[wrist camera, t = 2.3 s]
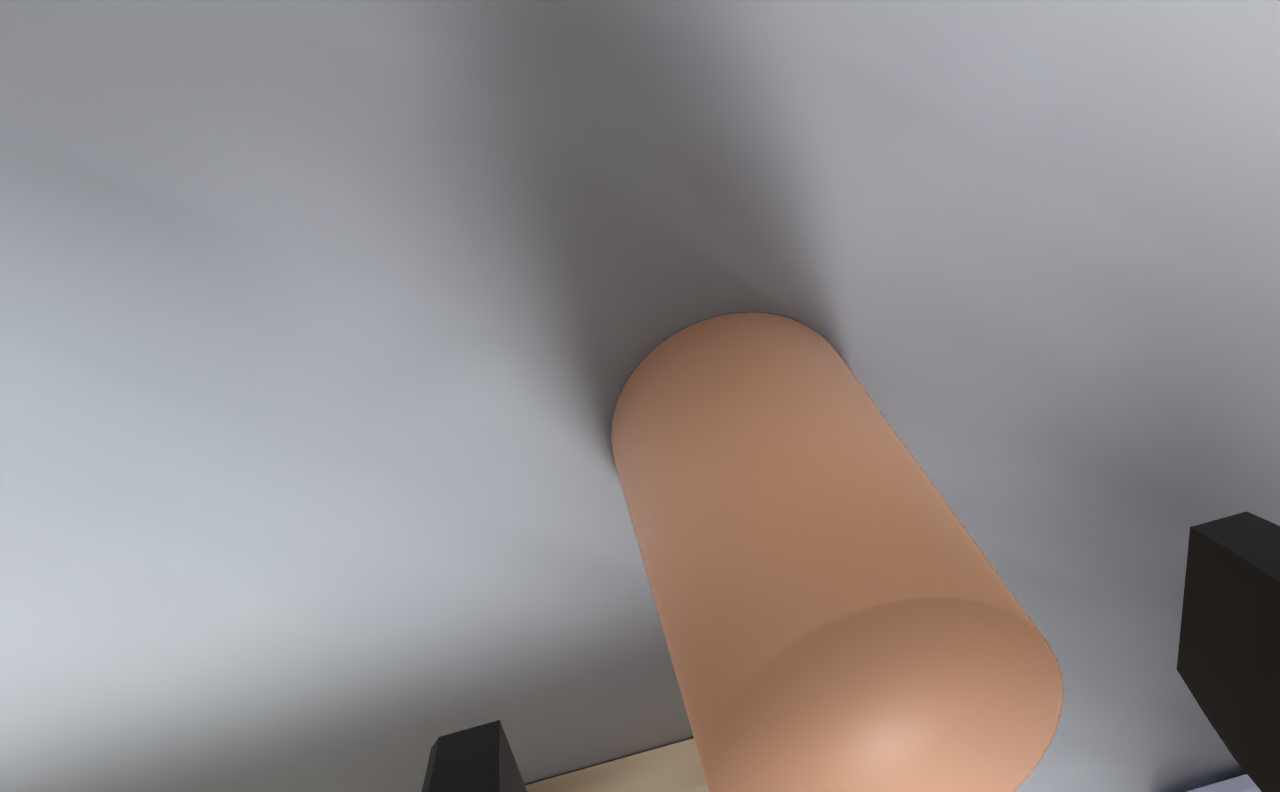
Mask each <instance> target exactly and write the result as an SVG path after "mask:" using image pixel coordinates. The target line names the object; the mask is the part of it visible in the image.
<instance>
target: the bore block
mask: <svg viewBox="0 0 1280 792" xmlns="http://www.w3.org/2000/svg"><path fill="white" fill-rule="evenodd" d="M525 788H526V791H527V792H709V790H708V786H707V783H706V779H705V776H704V772H703V769H702V765H701V762H700V758H699V755H698V751H697V748H696V744H695V741H694V738H692V739H689V740H685V741H682V742H678V743H674V744H671V745H667V746H664V747H660V748H657V749H653V750H649V751H646V752H642V753H639V754H635V755H632V756H628V757H624V758H621V759H617V760H614V761H610V762H607V763H603V764H600V765H596V766H592V767H589V768H585V769H582V770H578V771H575V772H571V773H567V774H564V775H560V776H557V777H553V778H550V779H546V780H542V781H539V782H535V783H532V784H528V785H525Z"/></svg>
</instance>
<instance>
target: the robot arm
mask: <svg viewBox="0 0 1280 792" xmlns="http://www.w3.org/2000/svg"><path fill="white" fill-rule="evenodd" d="M1177 671H1178V672H1179V674H1180V675H1181V677H1182V678H1183V680H1184V682H1185V683H1186V685H1187V686H1188V688H1189V690H1190V691H1191V693H1192V694H1193V696H1194V698H1195V699H1196V701H1197V702H1198V704H1199V706H1200V707H1201V709H1202V710H1203V712H1204V714H1205V715H1206V717H1207V718H1208V720H1209V721H1210V723H1211V724H1212V726H1213V727H1214V729H1215V730H1216V732H1217V733H1218V735H1219V736H1220V738H1221V739H1222V741H1223V742H1224V744H1225V745H1226V747H1227V748H1228V750H1229V751H1230V753H1231V754H1232V756H1233V757H1234V758H1235V760H1236V761H1237V762H1238V763H1239V765H1240V766H1241V767H1242V768H1243V770H1244V771H1245V772H1246V773H1247V774H1245V775H1241V776H1238V777H1234V778H1231V779H1227V780H1224V781H1220V782H1217V783H1214V784H1210V785H1207V786H1203V787H1200V788H1196V789H1193V790H1189V791H1186V792H1280V526H1277V525H1275V524H1273V523H1271V522H1269V521H1267V520H1264V519H1262V518H1260V517H1258V516H1256V515H1253V514H1251V513H1249V512H1243V513H1240V514H1236V515H1232V516H1229V517H1225V518H1222V519H1218V520H1215V521H1211V522H1207V523H1204V524H1200V525H1197V526H1193V527H1190V535H1189V546H1188V557H1187V567H1186V578H1185V589H1184V599H1183V610H1182V621H1181V631H1180V642H1179V653H1178V663H1177ZM422 792H527V791H526V788H525V785H524V783H523V780H522V777H521V775H520V772H519V770H518V767H517V764H516V762H515V759H514V756H513V754H512V751H511V749H510V746H509V743H508V741H507V738H506V735H505V733H504V730H503V728H502V725H501V722H500V720H498V721H495V722H491V723H488V724H484V725H480V726H477V727H473V728H470V729H466V730H463V731H459V732H455V733H452V734H448V735H445V736H441V737H439V738H438V740H437V741H436V742H435V744H434V745H433V746H432V748H431V752H430V757H429V762H428V767H427V772H426V776H425V781H424V785H423V789H422Z"/></svg>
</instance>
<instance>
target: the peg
mask: <svg viewBox="0 0 1280 792" xmlns="http://www.w3.org/2000/svg"><path fill="white" fill-rule="evenodd" d="M611 446H612V452H613V458H614V461H615V465H616V468H617V472H618V475H619V479H620V482H621V486H622V489H623V493H624V496H625V500H626V503H627V507H628V510H629V514H630V517H631V521H632V524H633V528H634V531H635V535H636V538H637V541H638V545H639V548H640V552H641V555H642V559H643V562H644V566H645V569H646V573H647V576H648V580H649V583H650V587H651V590H652V594H653V597H654V601H655V604H656V608H657V611H658V615H659V618H660V622H661V625H662V629H663V632H664V636H665V639H666V643H667V646H668V650H669V653H670V657H671V660H672V664H673V667H674V671H675V674H676V678H677V681H678V685H679V688H680V692H681V695H682V699H683V702H684V706H685V709H686V713H687V716H688V720H689V723H690V727H691V730H692V734H693V737H694V741H695V744H696V748H697V751H698V755H699V758H700V762H701V765H702V769H703V772H704V776H705V779H706V783H707V786H708V790H709V792H1014V791H1015V790H1016V789H1017V788H1018V786H1019V785H1020V784H1021V783H1022V782H1023V781H1024V780H1025V779H1026V778H1027V777H1028V775H1029V774H1030V773H1031V771H1032V770H1033V769H1034V767H1035V766H1036V765H1037V763H1038V762H1039V761H1040V759H1041V758H1042V756H1043V754H1044V752H1045V751H1046V749H1047V747H1048V746H1049V744H1050V742H1051V739H1052V737H1053V735H1054V732H1055V730H1056V728H1057V724H1058V721H1059V717H1060V713H1061V709H1062V699H1063V685H1062V675H1061V672H1060V668H1059V664H1058V661H1057V659H1056V657H1055V655H1054V653H1053V651H1052V649H1051V647H1050V645H1049V644H1048V643H1047V641H1046V640H1045V638H1044V637H1043V636H1042V634H1041V633H1040V632H1039V630H1038V629H1037V627H1036V626H1035V625H1034V623H1033V622H1032V620H1031V619H1030V618H1029V616H1028V615H1027V614H1026V612H1025V611H1024V609H1023V608H1022V607H1021V605H1020V604H1019V602H1018V601H1017V600H1016V598H1015V597H1014V596H1013V594H1012V593H1011V591H1010V590H1009V589H1008V587H1007V586H1006V585H1005V583H1004V582H1003V580H1002V579H1001V578H1000V576H999V575H998V573H997V572H996V571H995V569H994V568H993V567H992V565H991V564H990V562H989V561H988V560H987V558H986V557H985V555H984V554H983V553H982V551H981V550H980V549H979V547H978V546H977V544H976V543H975V542H974V540H973V539H972V538H971V536H970V535H969V533H968V532H967V531H966V529H965V528H964V526H963V525H962V524H961V522H960V521H959V520H958V518H957V517H956V515H955V514H954V513H953V511H952V510H951V508H950V507H949V506H948V504H947V503H946V502H945V500H944V499H943V497H942V496H941V495H940V493H939V492H938V491H937V489H936V488H935V486H934V485H933V484H932V482H931V481H930V479H929V478H928V477H927V475H926V474H925V473H924V471H923V470H922V468H921V467H920V466H919V464H918V463H917V462H916V460H915V459H914V457H913V456H912V455H911V453H910V452H909V450H908V449H907V448H906V446H905V445H904V444H903V442H902V441H901V439H900V438H899V437H898V435H897V434H896V432H895V431H894V430H893V428H892V427H891V426H890V424H889V423H888V421H887V420H886V419H885V417H884V416H883V415H882V413H881V412H880V410H879V409H878V408H877V406H876V405H875V403H874V402H873V401H872V399H871V398H870V397H869V395H868V394H867V392H866V391H865V390H864V388H863V387H862V385H861V384H860V383H859V381H858V380H857V379H856V377H855V376H854V374H853V373H852V372H851V370H850V369H849V368H848V366H847V365H846V363H845V362H844V361H843V359H842V358H841V356H840V355H839V354H838V353H837V351H836V350H835V349H834V347H833V346H832V345H831V344H830V343H829V342H828V341H827V340H826V339H825V338H824V337H823V336H821V335H820V334H819V333H817V332H816V331H814V330H813V329H811V328H810V327H808V326H806V325H804V324H802V323H800V322H798V321H796V320H793V319H790V318H786V317H783V316H780V315H774V314H768V313H756V312H744V313H731V314H726V315H721V316H716V317H713V318H709V319H706V320H703V321H700V322H697V323H695V324H693V325H691V326H689V327H686V328H684V329H682V330H680V331H679V332H677V333H675V334H674V335H672V336H670V337H669V338H667V339H666V340H665V341H663V342H662V343H661V344H659V345H658V346H657V347H656V348H654V349H653V350H652V351H651V352H650V353H649V354H648V355H647V356H646V357H645V358H644V359H643V360H642V361H641V362H640V364H639V365H638V366H637V367H636V369H635V370H634V371H633V372H632V374H631V375H630V377H629V379H628V380H627V382H626V384H625V385H624V387H623V389H622V391H621V393H620V396H619V398H618V400H617V403H616V407H615V410H614V414H613V419H612V426H611Z"/></svg>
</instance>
